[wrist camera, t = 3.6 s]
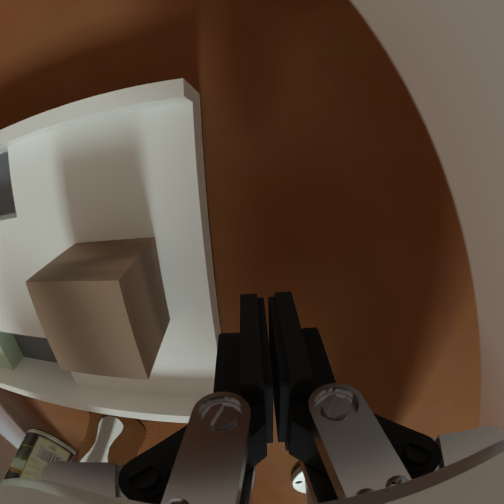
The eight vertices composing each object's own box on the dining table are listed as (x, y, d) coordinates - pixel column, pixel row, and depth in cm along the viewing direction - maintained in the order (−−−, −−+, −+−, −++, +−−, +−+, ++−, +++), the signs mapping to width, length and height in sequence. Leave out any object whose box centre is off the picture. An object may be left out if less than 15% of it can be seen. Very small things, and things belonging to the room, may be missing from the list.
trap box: (199, 93, 15) (183, 77, 10) (227, 378, 22) (224, 423, 17) (-74, 181, 15) (-103, 192, 10) (-23, 348, 22) (-43, 370, 17)
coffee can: (43, 456, 30) (18, 518, 17) (17, 419, 26) (-20, 489, 13) (97, 475, 30) (76, 547, 17) (74, 442, 27) (42, 527, 14)
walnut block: (155, 237, 15) (118, 280, 10) (170, 319, 17) (148, 379, 12) (75, 243, 15) (25, 281, 10) (96, 318, 17) (61, 369, 12)
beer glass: (112, 395, 23) (60, 535, 9) (164, 435, 25) (140, 566, 11) (76, 410, 24) (29, 523, 10) (124, 446, 26) (95, 555, 12)
